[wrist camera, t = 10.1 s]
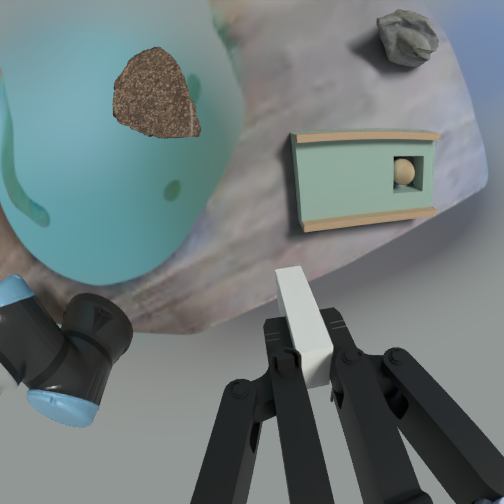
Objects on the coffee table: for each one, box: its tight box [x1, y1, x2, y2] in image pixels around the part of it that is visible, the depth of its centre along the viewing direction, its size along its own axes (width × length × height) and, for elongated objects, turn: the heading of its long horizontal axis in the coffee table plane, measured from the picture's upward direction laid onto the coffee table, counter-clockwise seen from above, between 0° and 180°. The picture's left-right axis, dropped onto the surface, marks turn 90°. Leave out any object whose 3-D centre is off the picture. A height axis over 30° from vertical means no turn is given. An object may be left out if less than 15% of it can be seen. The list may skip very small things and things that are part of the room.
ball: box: [393, 158, 415, 185], centre depth 37 cm, size 4×4×4 cm
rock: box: [113, 47, 201, 138], centre depth 29 cm, size 12×10×10 cm
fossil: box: [377, 9, 438, 67], centre depth 25 cm, size 11×9×8 cm
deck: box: [290, 129, 440, 232], centre depth 37 cm, size 22×13×4 cm, turn 98°
